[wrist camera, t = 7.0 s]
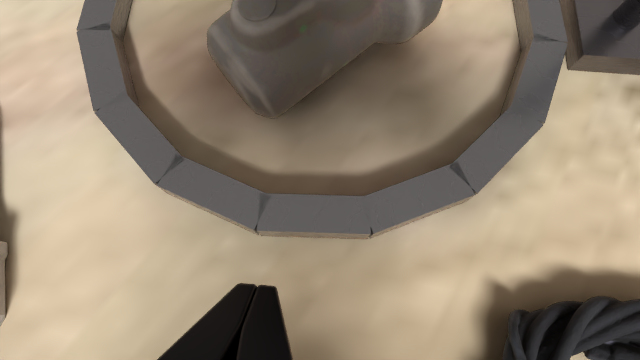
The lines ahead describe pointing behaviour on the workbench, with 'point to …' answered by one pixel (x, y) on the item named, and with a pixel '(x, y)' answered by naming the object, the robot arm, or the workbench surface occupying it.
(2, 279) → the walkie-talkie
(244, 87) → the pipe fitting
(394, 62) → the workbench surface
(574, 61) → the stand
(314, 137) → the workbench surface
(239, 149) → the workbench surface
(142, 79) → the workbench surface
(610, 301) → the cable
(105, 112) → the ring
